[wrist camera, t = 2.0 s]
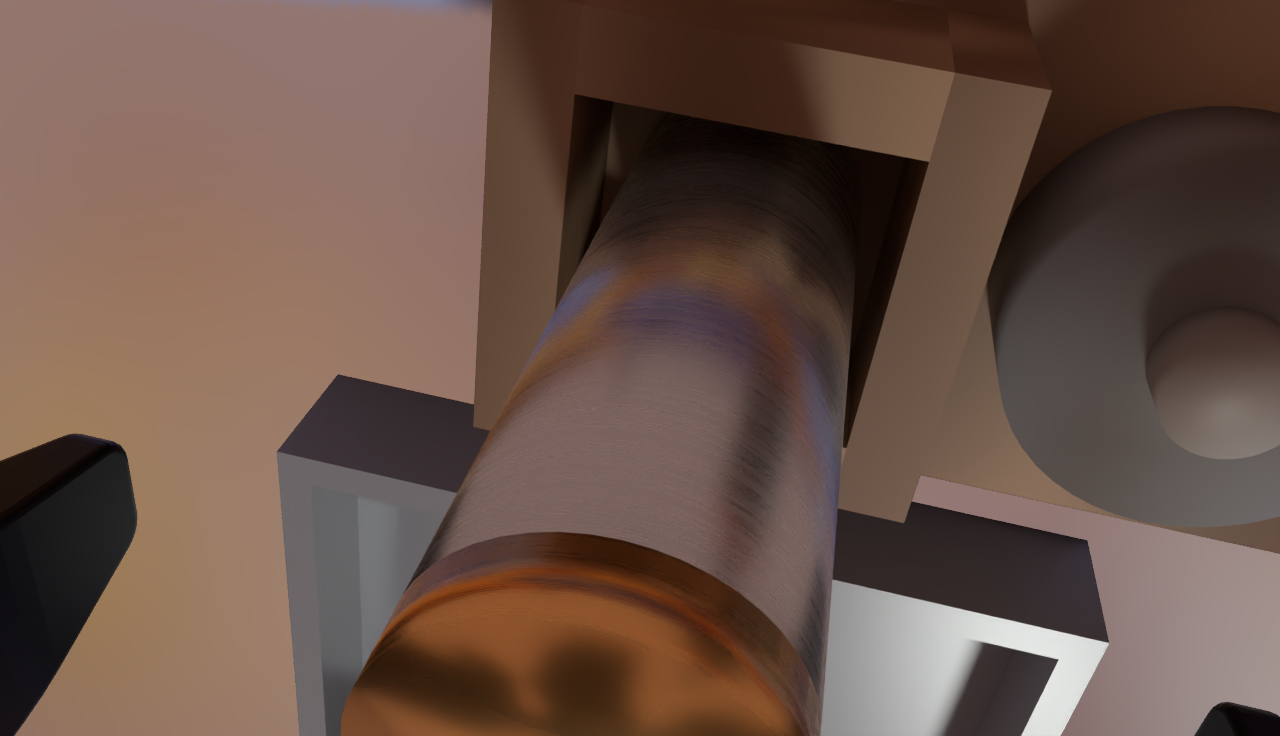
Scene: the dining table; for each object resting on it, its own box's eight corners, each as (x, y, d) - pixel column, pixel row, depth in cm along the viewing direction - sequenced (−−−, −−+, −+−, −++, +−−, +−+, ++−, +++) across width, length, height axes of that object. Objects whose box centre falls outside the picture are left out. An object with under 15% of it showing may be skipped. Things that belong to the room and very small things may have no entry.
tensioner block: (1516, -13, 14) (1762, 116, 10) (1246, 473, 18) (1340, 696, 14) (597, -167, 15) (488, -106, 11) (552, 326, 20) (464, 495, 16)
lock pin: (886, 113, 14) (868, 696, 6) (832, 320, 16) (762, 982, 8) (647, 67, 15) (332, 568, 7) (620, 276, 16) (346, 872, 8)
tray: (1087, 540, 20) (1109, 643, 18) (933, 865, 25) (936, 971, 23) (338, 374, 21) (277, 451, 19) (351, 717, 27) (305, 805, 25)
